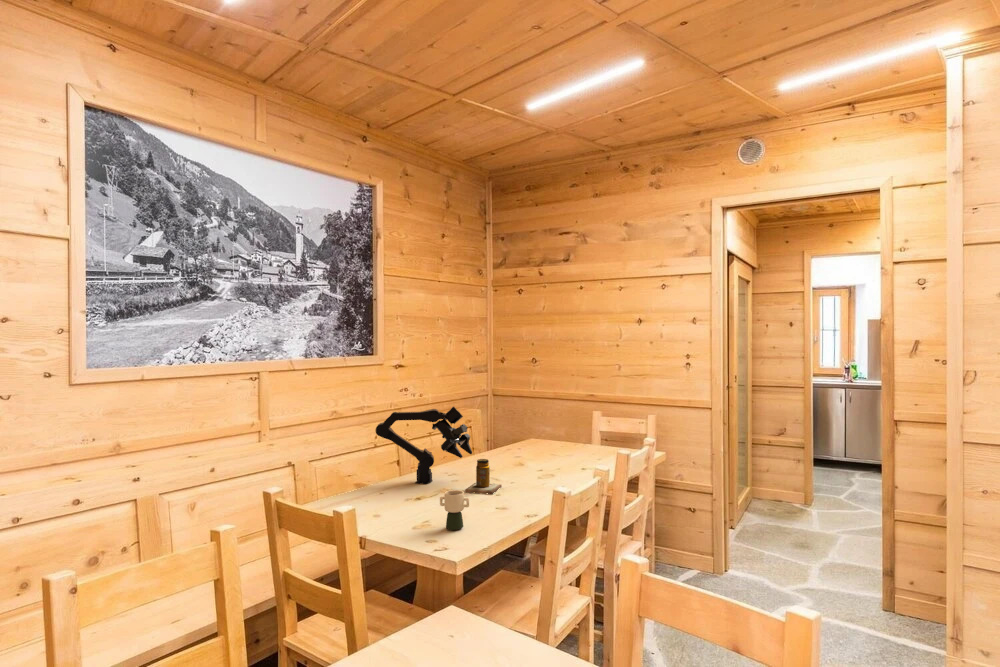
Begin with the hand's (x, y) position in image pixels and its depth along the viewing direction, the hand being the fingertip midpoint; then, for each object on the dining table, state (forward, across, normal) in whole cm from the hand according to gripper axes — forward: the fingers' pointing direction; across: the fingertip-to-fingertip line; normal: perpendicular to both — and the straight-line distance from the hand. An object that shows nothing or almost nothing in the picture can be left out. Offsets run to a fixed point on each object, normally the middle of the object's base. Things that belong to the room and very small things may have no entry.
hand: (466, 455), depth 269 cm
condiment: (+17, -6, +1) cm, 18 cm away
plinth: (+18, -5, +2) cm, 18 cm away
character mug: (+29, -57, -10) cm, 65 cm away
